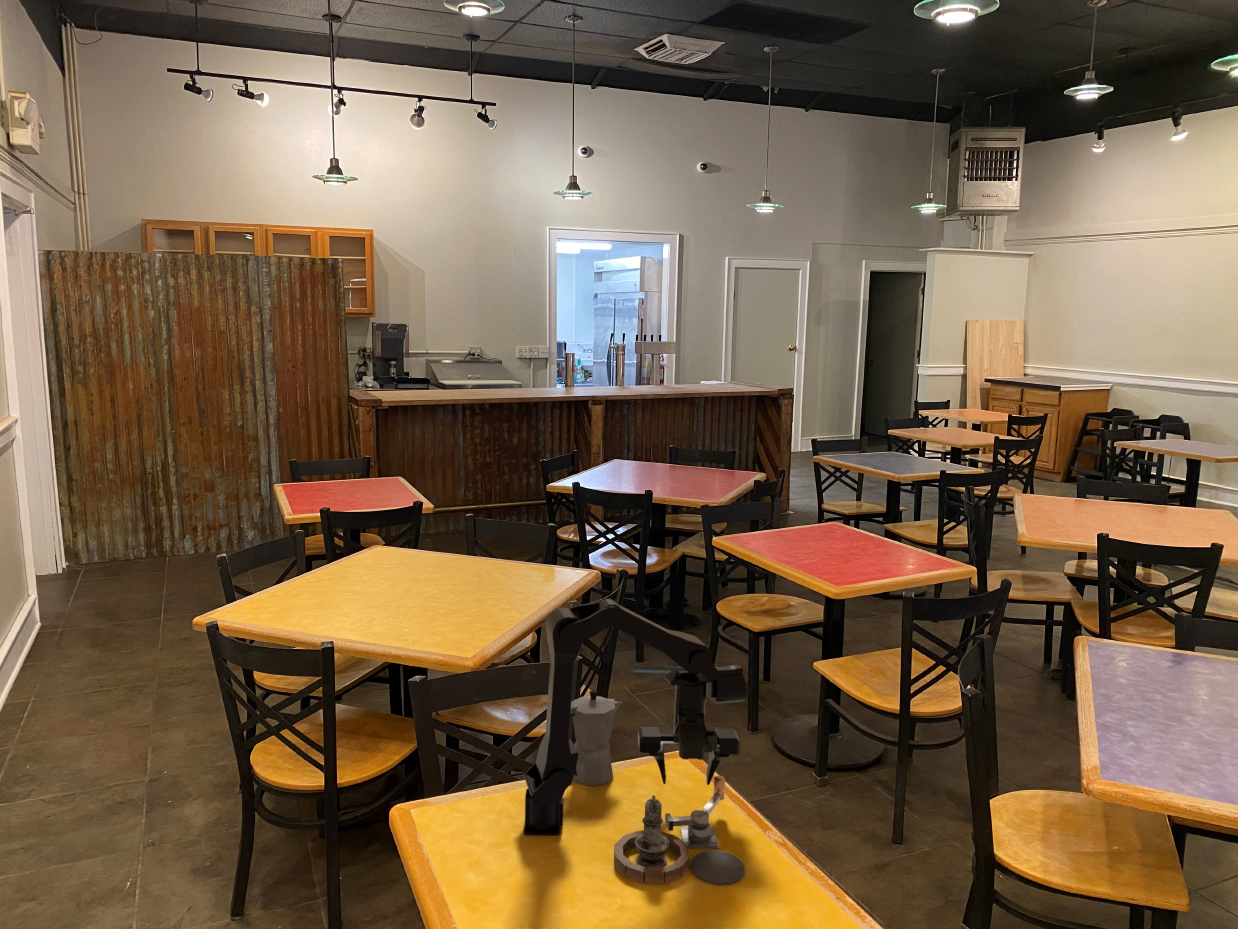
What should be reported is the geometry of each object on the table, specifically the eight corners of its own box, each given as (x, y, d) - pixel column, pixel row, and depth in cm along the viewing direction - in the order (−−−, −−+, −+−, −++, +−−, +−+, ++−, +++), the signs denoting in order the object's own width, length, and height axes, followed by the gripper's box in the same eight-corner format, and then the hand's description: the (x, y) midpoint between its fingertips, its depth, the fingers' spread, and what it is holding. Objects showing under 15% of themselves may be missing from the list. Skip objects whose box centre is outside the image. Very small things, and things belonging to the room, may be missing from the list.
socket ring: (615, 883, 140) (615, 872, 140) (613, 840, 153) (613, 830, 152) (692, 884, 141) (693, 872, 140) (684, 841, 153) (684, 830, 153)
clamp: (660, 828, 152) (661, 806, 151) (693, 790, 166) (694, 769, 165) (698, 839, 149) (699, 816, 148) (728, 799, 163) (729, 778, 162)
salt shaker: (669, 853, 149) (671, 787, 148) (668, 873, 144) (670, 805, 142) (635, 850, 150) (637, 785, 148) (632, 870, 144) (634, 802, 143)
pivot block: (684, 848, 151) (684, 835, 151) (680, 830, 157) (680, 817, 157) (718, 848, 151) (718, 835, 151) (713, 830, 157) (713, 817, 157)
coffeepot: (608, 759, 184) (610, 677, 182) (630, 778, 176) (633, 693, 174) (542, 774, 176) (543, 689, 174) (562, 795, 168) (564, 706, 166)
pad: (694, 885, 141) (694, 881, 140) (687, 853, 149) (687, 850, 149) (749, 885, 141) (749, 881, 141) (739, 853, 150) (739, 850, 150)
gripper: (642, 720, 153) (639, 804, 155) (747, 723, 154) (742, 806, 156) (639, 696, 164) (636, 775, 166) (736, 699, 165) (732, 777, 167)
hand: (686, 783), depth 164 cm, fingers open, 8 cm apart
